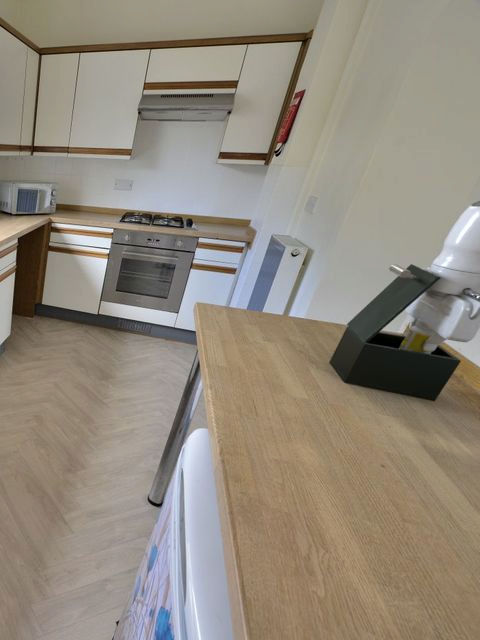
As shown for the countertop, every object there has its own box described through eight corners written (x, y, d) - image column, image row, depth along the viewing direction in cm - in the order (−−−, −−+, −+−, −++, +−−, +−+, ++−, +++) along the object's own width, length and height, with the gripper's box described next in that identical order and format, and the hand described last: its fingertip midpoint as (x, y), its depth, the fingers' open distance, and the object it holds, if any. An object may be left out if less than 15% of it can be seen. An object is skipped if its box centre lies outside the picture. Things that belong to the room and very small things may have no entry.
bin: (410, 378, 95) (433, 340, 91) (434, 401, 86) (461, 360, 82) (328, 362, 101) (347, 326, 96) (344, 382, 92) (364, 343, 88)
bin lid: (414, 265, 87) (392, 255, 88) (441, 277, 79) (417, 266, 79) (348, 325, 96) (330, 316, 97) (366, 342, 87) (346, 332, 88)
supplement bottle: (432, 362, 87) (455, 326, 84) (410, 361, 87) (432, 325, 84) (411, 352, 92) (431, 317, 88) (390, 351, 92) (409, 316, 88)
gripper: (512, 300, 72) (467, 368, 78) (447, 272, 89) (414, 330, 95) (465, 294, 74) (424, 360, 81) (410, 268, 91) (380, 324, 97)
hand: (418, 343), depth 88 cm, fingers closed on supplement bottle, 5 cm apart
